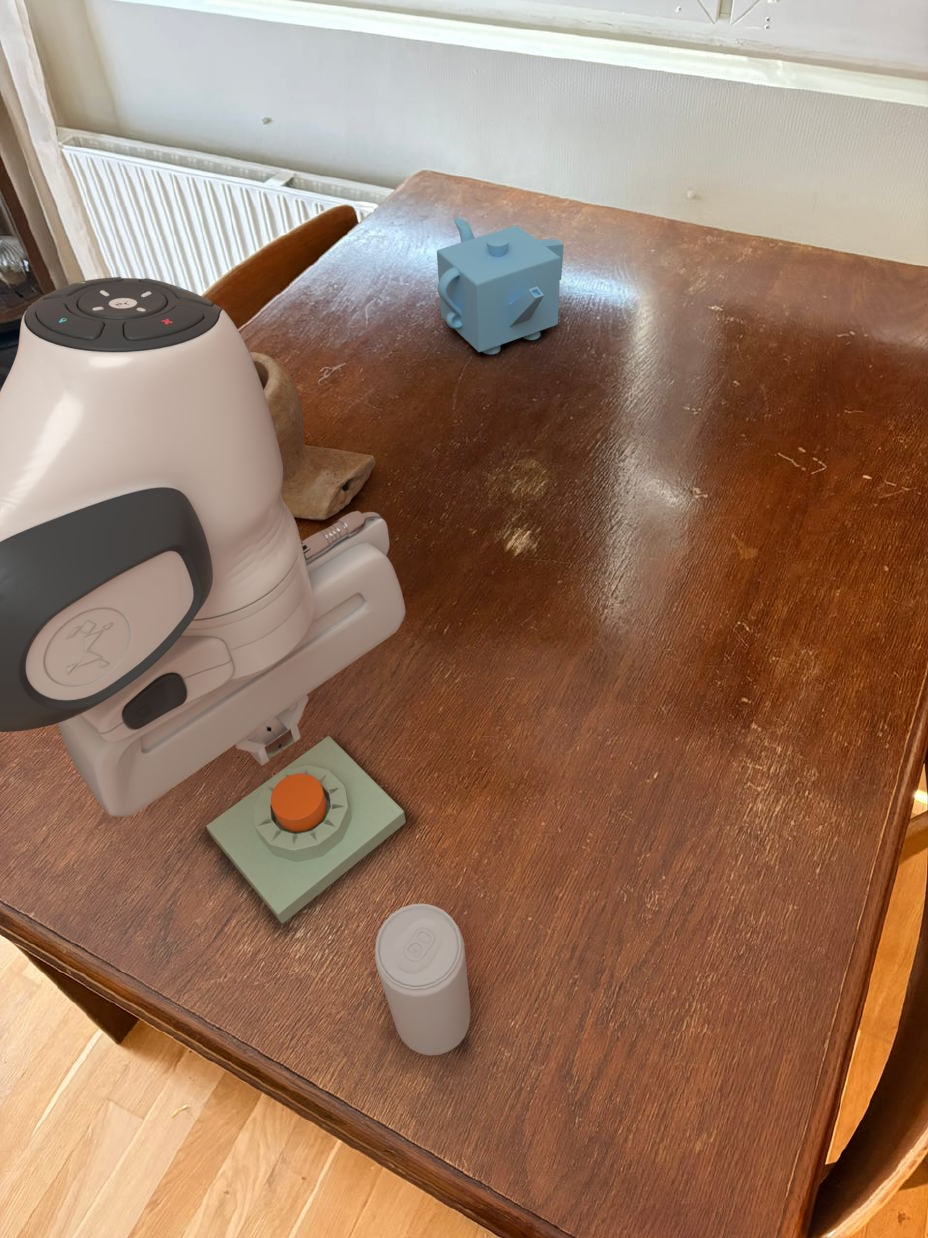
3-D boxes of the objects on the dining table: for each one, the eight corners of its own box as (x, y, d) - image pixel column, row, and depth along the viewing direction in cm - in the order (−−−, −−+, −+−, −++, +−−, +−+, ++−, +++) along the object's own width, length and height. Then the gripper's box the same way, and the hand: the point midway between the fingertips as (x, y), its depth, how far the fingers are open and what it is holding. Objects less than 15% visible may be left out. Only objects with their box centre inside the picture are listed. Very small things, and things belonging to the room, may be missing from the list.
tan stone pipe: (190, 523, 87) (142, 393, 76) (246, 448, 94) (209, 319, 83) (333, 553, 84) (305, 421, 72) (380, 472, 91) (360, 341, 80)
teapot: (478, 385, 100) (475, 291, 92) (406, 313, 111) (397, 223, 102) (596, 342, 105) (603, 249, 96) (515, 277, 115) (515, 188, 107)
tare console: (282, 925, 60) (272, 903, 58) (211, 837, 65) (198, 813, 62) (406, 822, 65) (402, 798, 62) (332, 747, 70) (324, 721, 67)
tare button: (295, 842, 61) (290, 829, 60) (265, 808, 63) (260, 795, 62) (337, 809, 63) (333, 796, 61) (307, 776, 64) (302, 764, 63)
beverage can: (379, 1028, 56) (354, 957, 47) (425, 963, 58) (409, 884, 49) (442, 1075, 54) (428, 1011, 45) (487, 1006, 56) (481, 932, 47)
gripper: (346, 471, 51) (372, 628, 62) (5, 667, 42) (103, 813, 53) (418, 524, 48) (433, 681, 58) (66, 749, 39) (157, 886, 50)
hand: (274, 745), depth 56 cm, fingers closed
